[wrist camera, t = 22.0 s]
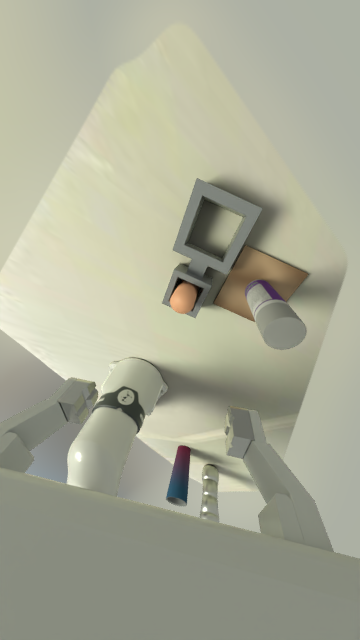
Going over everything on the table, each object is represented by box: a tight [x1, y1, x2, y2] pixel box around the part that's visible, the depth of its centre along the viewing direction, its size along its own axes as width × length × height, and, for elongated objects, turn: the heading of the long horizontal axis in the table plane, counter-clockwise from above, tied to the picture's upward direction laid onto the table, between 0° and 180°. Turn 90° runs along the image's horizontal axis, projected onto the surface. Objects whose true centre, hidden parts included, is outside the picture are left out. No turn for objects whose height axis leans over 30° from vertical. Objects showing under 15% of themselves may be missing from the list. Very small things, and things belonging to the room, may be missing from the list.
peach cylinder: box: [170, 279, 199, 314], centre depth 31 cm, size 4×4×8 cm
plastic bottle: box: [200, 465, 219, 523], centre depth 62 cm, size 6×7×20 cm
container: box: [245, 279, 306, 350], centre depth 26 cm, size 5×5×15 cm
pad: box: [214, 245, 308, 322], centre depth 33 cm, size 12×12×1 cm
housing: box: [162, 178, 263, 318], centre depth 30 cm, size 20×10×5 cm, turn 159°
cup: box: [166, 446, 190, 506], centre depth 61 cm, size 7×7×15 cm
